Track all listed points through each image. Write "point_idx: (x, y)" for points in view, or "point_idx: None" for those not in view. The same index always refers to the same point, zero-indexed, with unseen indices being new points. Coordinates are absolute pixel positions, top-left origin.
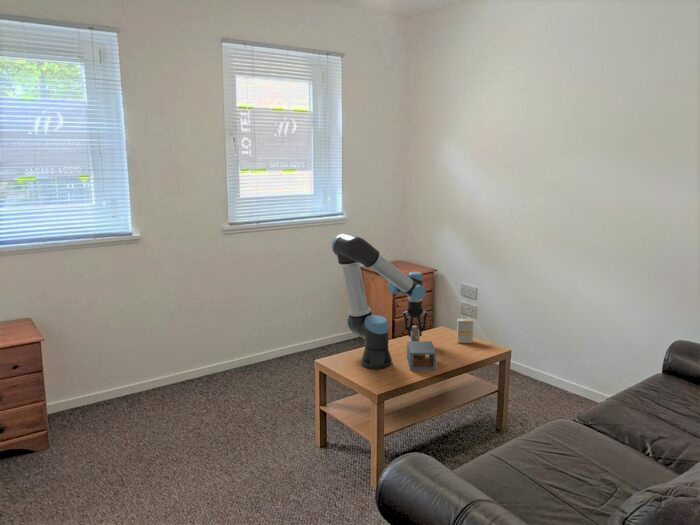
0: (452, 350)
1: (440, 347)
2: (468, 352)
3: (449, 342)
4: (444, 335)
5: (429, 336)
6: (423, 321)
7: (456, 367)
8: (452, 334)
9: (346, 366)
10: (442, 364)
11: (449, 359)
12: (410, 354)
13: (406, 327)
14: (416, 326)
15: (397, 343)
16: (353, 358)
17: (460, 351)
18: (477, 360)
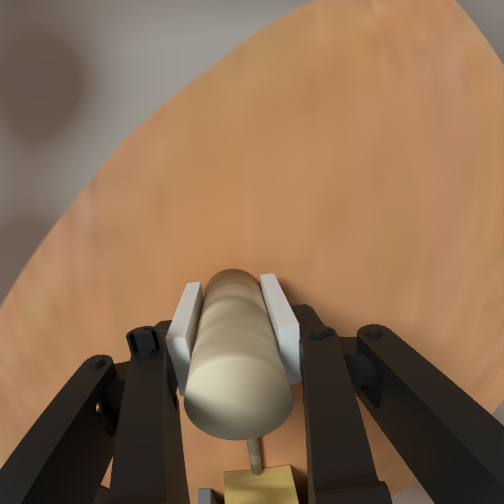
0: (455, 360)
1: (414, 332)
2: (497, 361)
3: (476, 226)
4: (455, 81)
5: (364, 85)
6: (409, 464)
7: (392, 495)
8: (486, 74)
9: None
10: None
11: (399, 458)
12: None
13: (113, 429)
14: (264, 398)
15: (89, 290)
16: (5, 455)
17: (478, 361)
18: None
